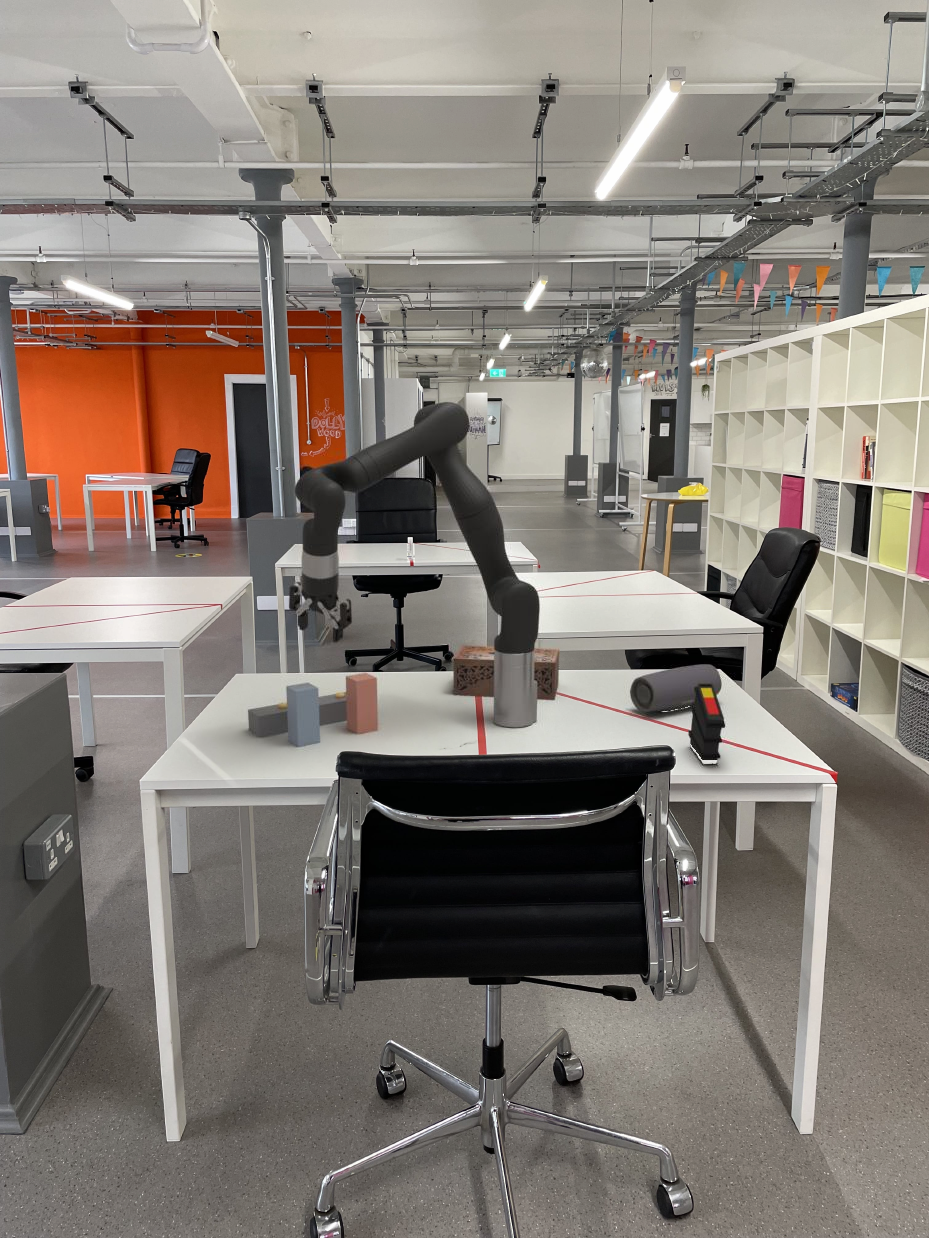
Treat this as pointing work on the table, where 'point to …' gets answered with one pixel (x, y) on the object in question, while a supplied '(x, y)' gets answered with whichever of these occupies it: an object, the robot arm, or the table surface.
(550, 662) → the tissue box cover
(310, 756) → the table surface
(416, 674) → the table surface
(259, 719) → the console
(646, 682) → the bluetooth speaker
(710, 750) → the black stepped tower
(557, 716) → the table surface
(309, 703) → the blue key
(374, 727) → the red key
